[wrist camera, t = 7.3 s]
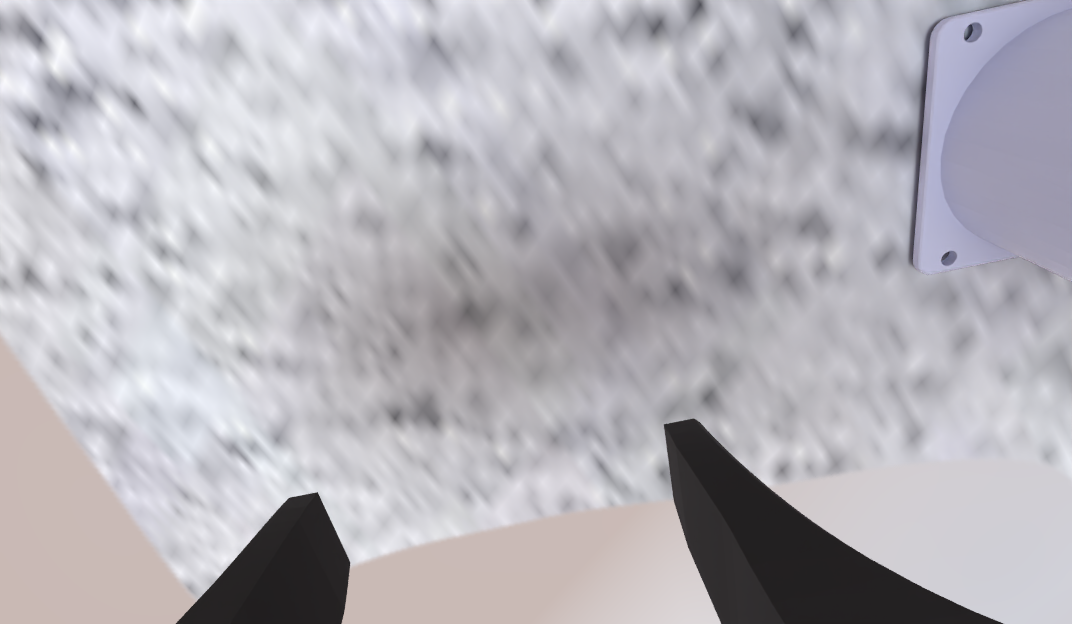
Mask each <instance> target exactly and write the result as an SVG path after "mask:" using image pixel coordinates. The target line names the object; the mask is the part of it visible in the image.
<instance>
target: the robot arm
mask: <svg viewBox="0 0 1072 624" xmlns="http://www.w3.org/2000/svg"><path fill="white" fill-rule="evenodd" d="M970 24H972V27H973V32H972V35H971V36H970V37H969V38H968V40H966V41H965V40H964V32H965V29H966V28H967V27H968V26H969V25H970ZM946 252H949V255H948V257H947V258H946V259H945V260H943V261H941V259H942V256H943V255H944V254H945V253H946ZM1015 257H1021V258H1023V259H1026V260H1028V261H1030V262H1032V263H1034V264H1036V265H1038V266H1040V267H1042V268H1044V269H1046V270H1048V271H1050V272H1052V273H1055V274H1057V275H1059V276H1061V277H1063V278H1065V279H1067V280H1069V281H1071V282H1072V0H1026V1H1021V2H1017V3H1012V4H1007V5H1003V6H998V7H993V8H989V9H984V10H979V11H975V12H970V13H966V14H961V15H956V16H952V17H948V18H946V19H943V20H942V21H940V22H939V23H938V24H937V25H936V26H935V28H934V30H933V31H932V34H931V38H930V47H929V60H928V73H927V85H926V98H925V111H924V124H923V137H922V150H921V162H920V175H919V188H918V201H917V214H916V226H915V239H914V252H913V265H914V267H915V268H916V269H917V270H919V271H920V272H922V273H924V274H936V273H941V272H946V271H951V270H956V269H961V268H966V267H971V266H976V265H981V264H986V263H991V262H996V261H1001V260H1006V259H1011V258H1015ZM664 429H665V436H666V444H667V452H668V459H669V467H670V475H671V482H672V490H673V498H674V503H675V506H676V509H677V512H678V516H679V519H680V522H681V525H682V529H683V531H684V535H685V538H686V541H687V545H688V548H689V550H690V552H691V555H692V557H693V559H694V562H695V564H696V566H697V568H698V571H699V573H700V576H701V578H702V580H703V582H704V584H705V587H706V589H707V592H708V594H709V596H710V599H711V601H712V603H713V605H714V608H715V610H716V612H717V614H718V617H719V619H720V621H721V624H1003V623H1001V622H998V621H995V620H993V619H991V618H988V617H986V616H983V615H981V614H979V613H976V612H974V611H971V610H969V609H967V608H965V607H963V606H961V605H958V604H956V603H954V602H952V601H950V600H948V599H946V598H944V597H941V596H939V595H937V594H935V593H933V592H931V591H929V590H927V589H925V588H922V587H921V586H919V585H917V584H915V583H913V582H911V581H910V580H908V579H906V578H904V577H902V576H900V575H899V574H897V573H895V572H893V571H891V570H889V569H888V568H886V567H884V566H882V565H880V564H878V563H877V562H875V561H873V560H871V559H869V558H868V557H866V556H864V555H863V554H861V553H860V552H858V551H856V550H855V549H853V548H851V547H850V546H848V545H846V544H845V543H843V542H842V541H840V540H839V539H837V538H836V537H834V536H833V535H831V534H830V533H828V532H827V531H825V530H824V529H822V528H821V527H820V526H818V525H817V524H815V523H814V522H812V521H811V520H810V519H808V518H807V517H805V516H804V515H803V514H801V513H800V512H799V511H797V510H796V509H795V508H794V507H792V506H791V505H789V504H788V503H787V502H786V501H785V500H783V499H782V498H781V497H779V496H778V495H777V494H775V493H774V492H773V491H772V490H771V489H770V488H768V487H767V486H766V485H765V484H764V483H763V482H761V481H760V480H759V479H758V478H757V477H756V476H754V475H753V474H752V473H751V472H750V471H749V470H748V469H746V468H745V467H744V466H743V465H742V464H741V463H740V462H739V461H738V460H737V459H735V458H734V457H733V456H732V455H731V454H730V453H729V452H728V451H727V450H726V449H725V448H724V447H723V446H722V445H721V444H720V443H719V442H718V441H717V440H716V439H715V438H714V437H713V436H712V435H711V434H710V433H709V432H708V431H707V430H706V429H705V428H704V426H703V425H702V424H701V423H700V422H698V421H697V420H695V419H689V420H684V421H679V422H674V423H669V424H664ZM349 569H350V561H349V559H348V557H347V554H346V552H345V550H344V548H343V546H342V544H341V542H340V539H339V537H338V535H337V533H336V531H335V529H334V527H333V524H332V522H331V520H330V518H329V516H328V514H327V511H326V509H325V507H324V505H323V503H322V501H321V499H320V496H319V494H318V492H317V493H312V494H306V495H301V496H296V497H291V498H289V499H288V500H287V501H286V502H285V503H284V504H283V505H282V506H281V507H280V508H279V509H278V510H277V511H276V513H275V514H274V515H273V516H272V517H271V518H270V519H269V521H268V522H267V523H266V524H265V525H264V526H263V527H262V529H261V530H260V531H259V532H258V533H257V534H256V536H255V537H254V538H253V539H252V540H251V541H250V543H249V544H248V545H247V546H246V547H245V548H244V550H243V551H242V552H241V553H240V554H239V555H238V556H237V558H236V559H235V560H234V561H233V562H232V563H231V564H230V566H229V567H228V568H227V569H226V570H225V571H224V572H223V574H222V575H221V576H220V577H219V578H218V579H217V580H216V581H215V583H214V584H213V585H212V586H211V587H210V588H209V589H208V590H207V591H206V592H205V593H204V594H203V595H202V596H201V597H200V599H199V600H198V601H197V602H196V603H195V604H194V605H193V606H192V607H191V608H190V609H189V610H188V611H187V612H186V613H185V614H184V616H183V617H182V618H181V619H180V620H179V621H178V622H177V623H176V624H341V623H342V619H343V615H344V610H345V602H346V595H347V587H348V577H349Z"/></svg>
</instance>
